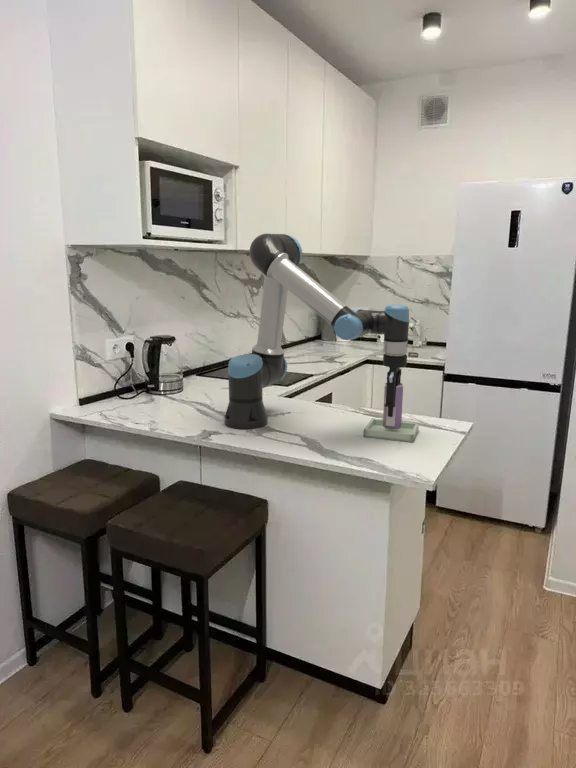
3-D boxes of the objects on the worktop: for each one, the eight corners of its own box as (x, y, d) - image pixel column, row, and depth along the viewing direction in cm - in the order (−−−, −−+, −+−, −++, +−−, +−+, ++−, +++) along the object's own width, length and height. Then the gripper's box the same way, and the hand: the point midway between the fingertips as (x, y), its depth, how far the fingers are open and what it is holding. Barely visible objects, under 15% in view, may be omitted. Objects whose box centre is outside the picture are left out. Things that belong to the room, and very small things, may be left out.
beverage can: (404, 428, 183) (406, 384, 179) (394, 432, 178) (396, 387, 175) (389, 424, 187) (391, 380, 183) (379, 428, 183) (381, 384, 179)
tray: (363, 436, 180) (363, 429, 179) (371, 425, 192) (371, 418, 191) (413, 442, 174) (413, 435, 174) (418, 430, 186) (418, 423, 186)
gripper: (402, 359, 167) (398, 432, 172) (411, 349, 184) (407, 415, 190) (377, 358, 169) (375, 430, 175) (388, 348, 187) (385, 413, 192)
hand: (391, 422), depth 182 cm, fingers closed on beverage can, 6 cm apart
